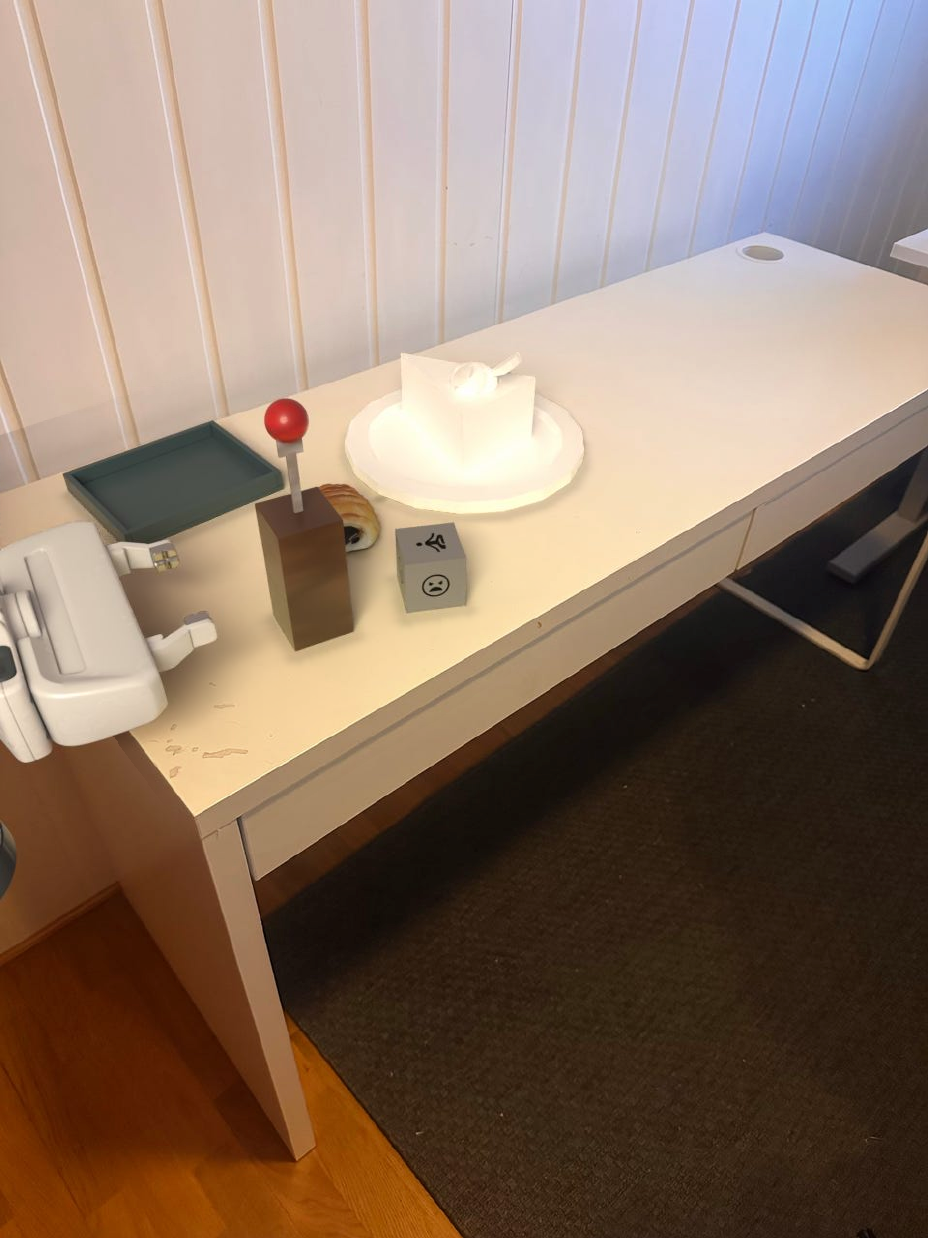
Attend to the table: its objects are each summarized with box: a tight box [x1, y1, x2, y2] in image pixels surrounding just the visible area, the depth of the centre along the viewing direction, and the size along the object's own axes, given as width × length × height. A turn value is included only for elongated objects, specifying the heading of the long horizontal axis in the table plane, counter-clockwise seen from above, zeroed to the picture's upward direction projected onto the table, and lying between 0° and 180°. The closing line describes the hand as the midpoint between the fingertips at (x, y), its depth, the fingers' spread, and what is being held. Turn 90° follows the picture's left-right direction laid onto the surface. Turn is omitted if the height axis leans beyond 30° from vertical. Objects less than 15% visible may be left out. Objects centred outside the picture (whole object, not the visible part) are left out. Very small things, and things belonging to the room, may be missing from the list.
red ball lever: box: [254, 397, 354, 652], centre depth 66 cm, size 5×5×20 cm
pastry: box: [317, 483, 381, 553], centre depth 82 cm, size 9×7×4 cm
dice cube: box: [394, 522, 468, 614], centre depth 75 cm, size 5×5×5 cm
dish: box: [344, 351, 585, 515], centre depth 90 cm, size 25×25×11 cm
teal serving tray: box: [62, 419, 285, 544], centre depth 87 cm, size 16×13×2 cm
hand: (193, 586), depth 65 cm, fingers open, 8 cm apart
